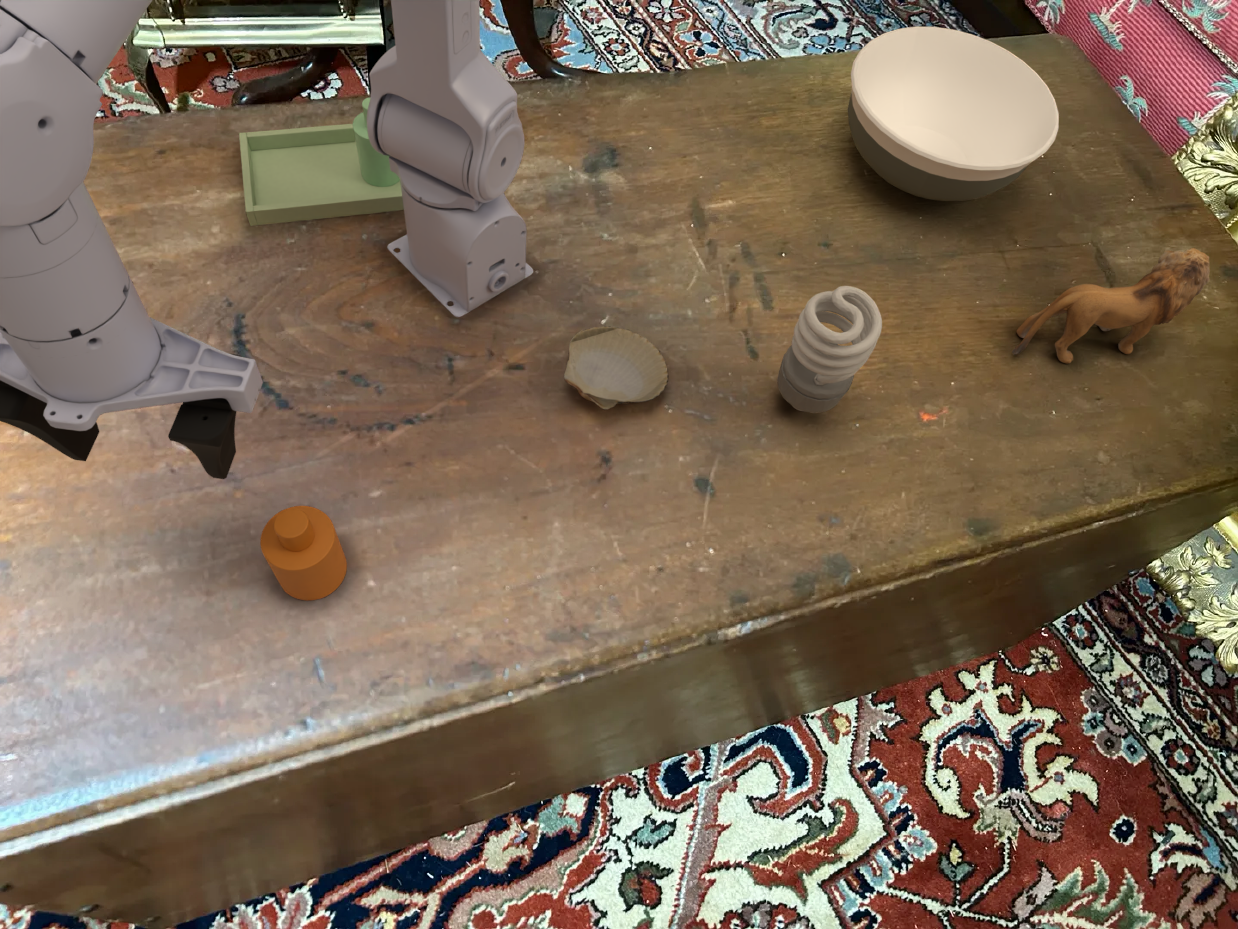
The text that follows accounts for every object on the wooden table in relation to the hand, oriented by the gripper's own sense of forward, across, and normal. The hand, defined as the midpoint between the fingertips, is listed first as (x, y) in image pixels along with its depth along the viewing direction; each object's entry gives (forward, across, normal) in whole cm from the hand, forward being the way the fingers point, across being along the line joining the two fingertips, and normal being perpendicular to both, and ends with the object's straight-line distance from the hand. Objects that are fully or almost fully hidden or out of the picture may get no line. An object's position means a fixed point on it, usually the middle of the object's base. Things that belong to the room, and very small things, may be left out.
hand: (156, 454), depth 51 cm
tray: (+9, +3, +35) cm, 36 cm away
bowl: (+9, +53, +47) cm, 71 cm away
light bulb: (+10, +41, +17) cm, 45 cm away
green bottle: (+9, +4, +35) cm, 36 cm away
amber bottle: (+10, +7, -1) cm, 13 cm away
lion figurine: (+9, +66, +28) cm, 72 cm away
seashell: (+10, +26, +17) cm, 32 cm away
